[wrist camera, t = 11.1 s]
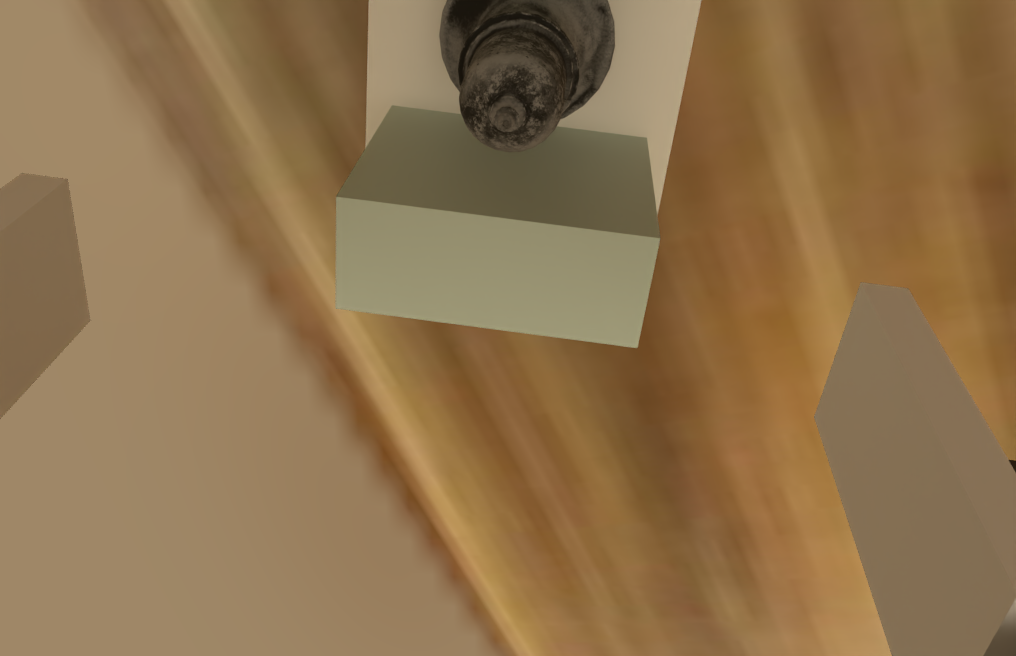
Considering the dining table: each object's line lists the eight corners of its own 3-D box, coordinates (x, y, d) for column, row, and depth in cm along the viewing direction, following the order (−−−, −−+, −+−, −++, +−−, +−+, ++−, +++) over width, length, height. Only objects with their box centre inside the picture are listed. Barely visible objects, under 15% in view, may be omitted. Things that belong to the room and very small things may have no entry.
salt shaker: (605, 100, 35) (608, 237, 25) (452, 89, 35) (393, 221, 25) (622, -66, 32) (633, 13, 22) (454, -76, 32) (388, -2, 22)
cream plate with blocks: (381, -279, 30) (296, -296, 22) (745, -235, 30) (803, -236, 22) (369, 197, 39) (305, 317, 31) (650, 234, 39) (664, 364, 30)
